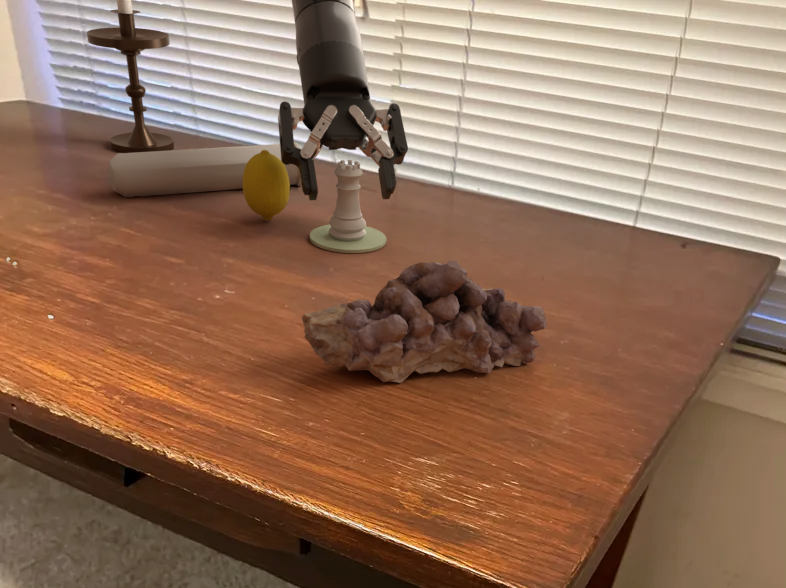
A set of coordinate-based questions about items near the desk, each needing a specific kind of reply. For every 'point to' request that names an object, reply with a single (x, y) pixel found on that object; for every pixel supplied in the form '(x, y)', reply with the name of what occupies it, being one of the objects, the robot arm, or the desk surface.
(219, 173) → the tube
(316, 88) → the robot arm
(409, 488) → the desk surface
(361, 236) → the rook chess piece
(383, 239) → the coaster
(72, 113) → the desk surface
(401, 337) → the mineral specimen
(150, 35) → the candlestick
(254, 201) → the lemon
